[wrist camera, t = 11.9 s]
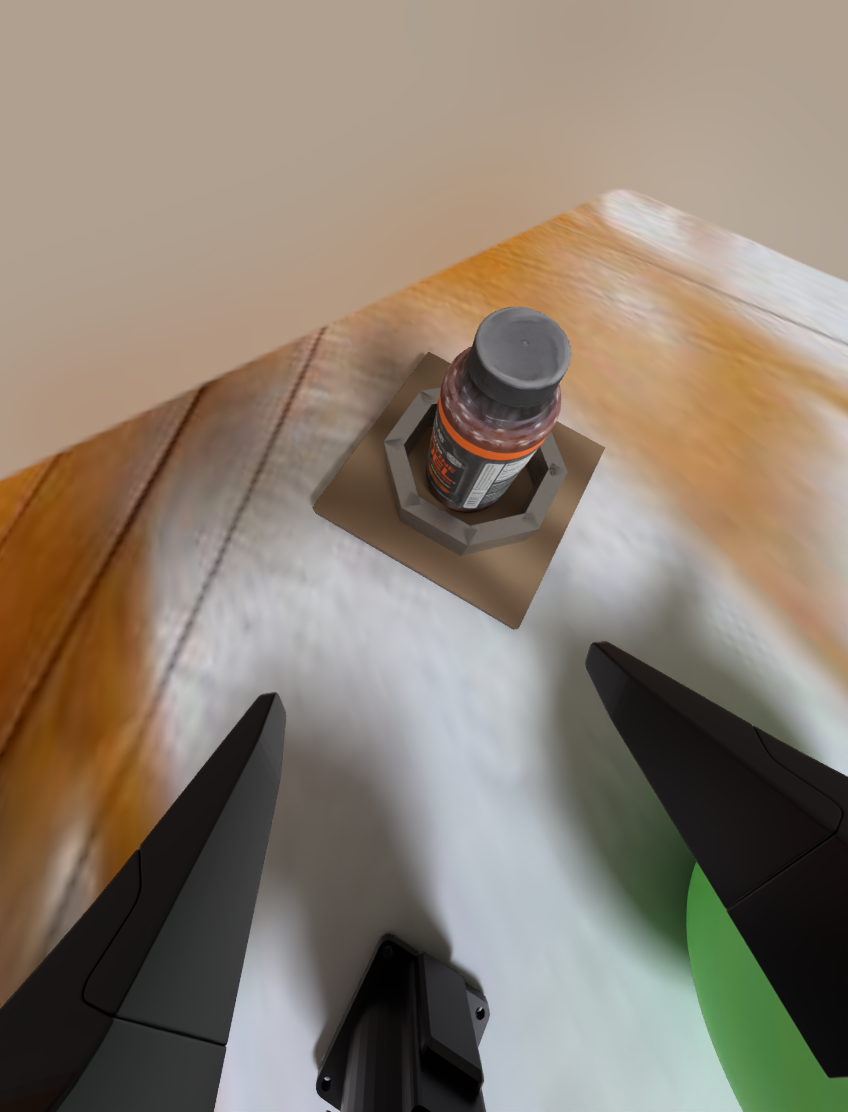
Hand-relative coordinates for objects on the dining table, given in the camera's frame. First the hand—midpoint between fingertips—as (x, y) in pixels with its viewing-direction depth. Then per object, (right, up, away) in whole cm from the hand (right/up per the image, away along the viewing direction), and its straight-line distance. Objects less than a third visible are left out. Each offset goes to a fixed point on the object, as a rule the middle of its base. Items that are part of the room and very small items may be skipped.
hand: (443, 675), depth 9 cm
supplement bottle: (+2, +9, +15) cm, 17 cm away
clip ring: (+3, +9, +16) cm, 18 cm away
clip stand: (+3, +9, +16) cm, 18 cm away
